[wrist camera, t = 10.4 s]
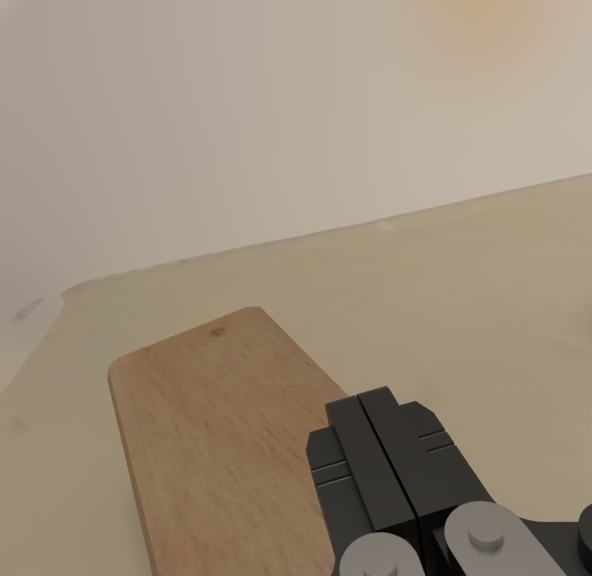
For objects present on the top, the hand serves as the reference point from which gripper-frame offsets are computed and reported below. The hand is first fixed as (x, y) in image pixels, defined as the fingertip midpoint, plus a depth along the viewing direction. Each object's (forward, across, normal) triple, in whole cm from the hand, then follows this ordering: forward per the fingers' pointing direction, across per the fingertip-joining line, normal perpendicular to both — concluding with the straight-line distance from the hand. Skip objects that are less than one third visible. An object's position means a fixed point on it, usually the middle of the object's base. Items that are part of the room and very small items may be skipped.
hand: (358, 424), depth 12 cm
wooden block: (0, +1, +11) cm, 11 cm away
